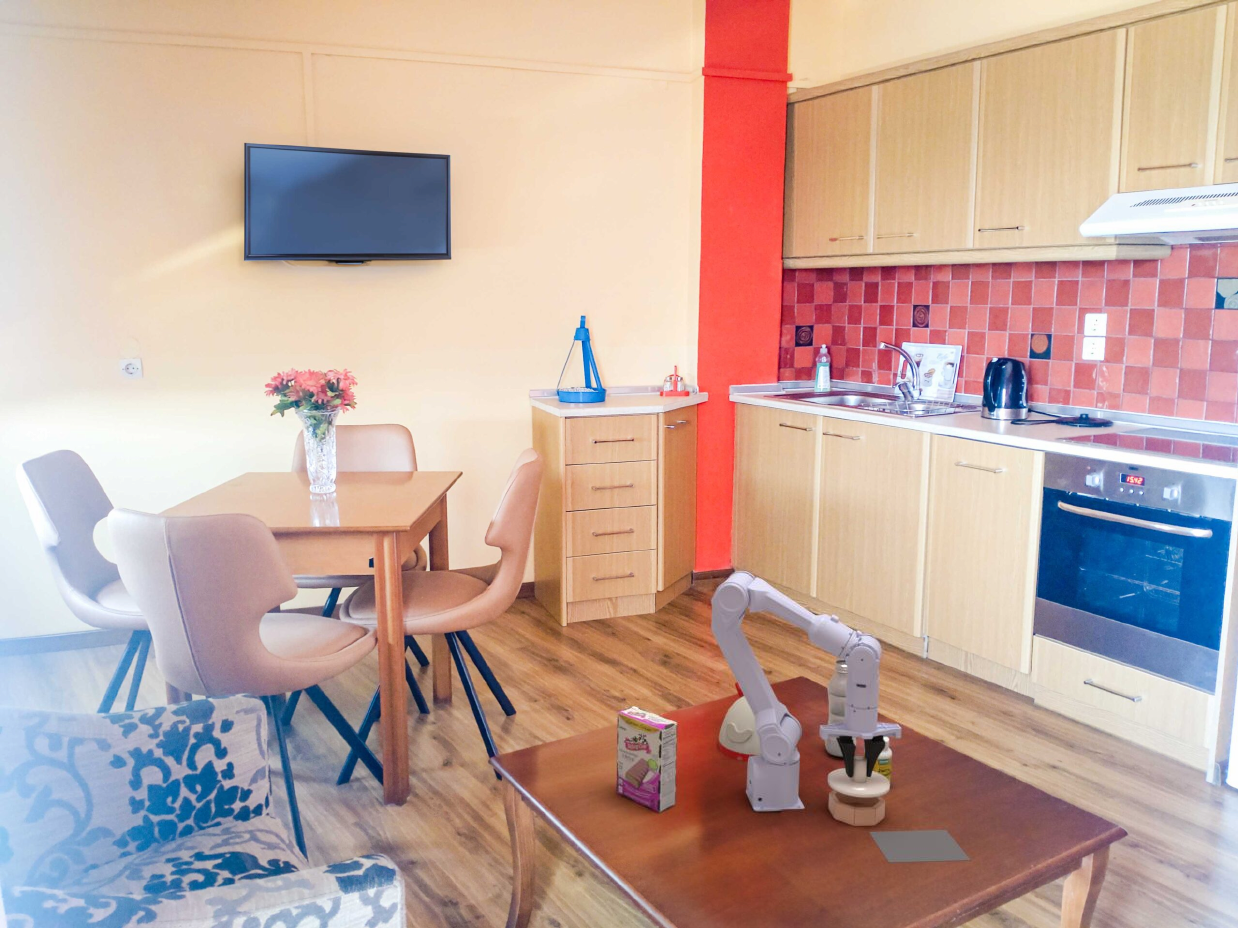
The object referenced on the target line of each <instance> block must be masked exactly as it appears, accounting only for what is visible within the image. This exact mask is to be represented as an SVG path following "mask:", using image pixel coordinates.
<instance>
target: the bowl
mask: <svg viewBox="0 0 1238 928" xmlns="http://www.w3.org/2000/svg"><path fill="white" fill-rule="evenodd" d="M828 811H829V812H830V814H831V815H832V817H833V818H834V819H835V820H837V821H840V822H843V823H845V824H848V825H850V826H854V827H858V826H859V827H860V826H862V827H863V826H864V827H865V826H876V825H877V824H878V823H880V822H882V820H883V819H885V817H886V816H885V815H886V814H885V812H886V800H885V799H884V798H883V796H878V797H868V798H866V797H854V796H849V795H846V794H842V793H840V792H838V791H836V790H834V789H832V790H831V791H830V792H829V793H828Z"/></svg>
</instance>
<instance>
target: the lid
mask: <svg viewBox="0 0 1238 928" xmlns="http://www.w3.org/2000/svg"><path fill="white" fill-rule="evenodd" d="M827 784H828V786H829V787H830V788H831V789H832V790H836V791H838V792H840V793H842V794H846V795H849V796H854V797H866V798H868V797H878V796H881V797H883V796H884V795H886V794H887V793H889V792H890V789H891V784H890V782H889V780H888V779H887V778H886V777H885V776H883V775H881V774H879V773H877V772H874V771H872V775H871V777H867V758H865V757H864V756H861V755H854V763H853V777H850V778H849V777H848V775H847V774H846V770H845V767H844V768H842V767H841V768H838V769H835V770H832V771H831V772H829V773H828V775H827Z"/></svg>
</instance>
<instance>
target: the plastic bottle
mask: <svg viewBox="0 0 1238 928" xmlns="http://www.w3.org/2000/svg"><path fill="white" fill-rule="evenodd" d="M834 672H835V673H834V674H833V675H832V676H831V678H830V679H829V680H828V683H827V689H826V690H827V698H828V719H827V720H828V721H827V725H830V724H835V723H840V722H845V703H846V683H847V676H848V667H847V665H846V662H845V660H842V659H838V660H835V662H834ZM852 739H853V743H854V744H855V746H856V747H857V737H852ZM824 746H825V750H826V752H827V753H828V754H830V755H831V756H834V757H839V758H843V755H842V752H841V749H840V747H839V744H838V742H837V739H836V738H828V739H827V740H824Z"/></svg>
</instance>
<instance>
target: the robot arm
mask: <svg viewBox="0 0 1238 928" xmlns="http://www.w3.org/2000/svg"><path fill="white" fill-rule="evenodd" d="M710 603H711V624H710V625H711V626H710V629H711V633H712V635H713V638H714V639H715V640H716V643H717V644H718V646H719V649H720V651H721V653H722V656H724V659H725V660H726V663H727V664H728V666H729V668H730V670H731V673H732V674H733V676H734V678H735V680H736V682H738V684H739V686H740V688H741V690H742V692H743V694H744V696H745V698H746V700H747V702H748V704H749V706H750V708H751V710H752V712H753V714H754V718H755V729H756V732H757V734H758V737H759V740H760V751H761V754H759V755H756V756H751V757H749V759H748V762H747V772H746V773H747V775H746V790H745V794H746V795H747V798H748V800H749V803H750V805H751V807H752V809H753V811H754V812H782V811H783V810H801V809H802V810H803V809H805V806H804V804H803V802H802V801H801V798H800V797H799V786H800V785H799V784H800V765H801V764H800V762H801V761H800V760H801V759H800V758H801V755H800V752H799V751H798V748H797V744H798V743H799V741H800V740H801V738H802V734H803V733H802V732H803V730H802V726H801V723H800V721H799V720H798V719H797V718H796V717H795V716H793V715H792V714H791V713H790V712H789V710H788V708H787V706H786V705H785V704H783V703H782V702H780V701H779V700H778V698H777V696H776V694H775V692H774V690H773V688H772V687H771V684H770V683H769V680H768V679H767V677H766V675H765V672H764V671H763V668H762V667H761V666H762V665H760V662H759V661H758V659H757V657H756V655H755V653H754V651H753V648H752V647H751V644H750V643H749V640H748V639H747V637H746V635H745V633H744V631H743V629H742V628H741V627H742V625H741V624H742V622H743V619H744V618H745V614H746V612H747V610H748V608H749V611H748V612H749V614H751V613H754V614H755V613H759V612H766V611H767V612H769V613H771V614H773V615H775V616H777V617H779V618H781V619H783V620H785V621H787V622H788V623H790V624H792V625H794V626H796V627H798V628H800V629H801V630H803V631H805V632H806V633H807V636H808V639H809V641H810V642H811V643H813V644H815V645H816V646H818V647H819V648H821V649H823V650H824V651H825V652H828V653H830V654H831V655H833V656H834V657H836V658H838V660H845V662H846V665H847V667H848V676H847V683H846V703H845V722H840V723H835V724H830V725H828V724H821V725H819V737H820V738H821V740H824V741H825V740H827V739H828V738H836V739H837V742H838V744H839V747H840V749H841V752H842V755H843V757H842V758H843V762H844V763H843V764H844V768H845V770H846V774H847V775H848V777H849V778H850V777H853V763H854V756H856V755H855V754H856V750H857V745H856V746H855V744H854V743H853V739H852V737H856V738H861V739H863V743H864V744H863V745H864V749H865V756H864V755H863V757H865V758H867V777H871V775H872V771H873V768H874V765H875V763H876V761H877V759H878V757H879V755H880V753H881V752H882V751H883V749H884V748H885V743H886V742H885V741H884V740H883V737H888V738H890V737H891V738H895V739H901V738H902V727H901V726H900V725H899V724H898V723H887V722H879V721H878V715H879V713H878V712H879V696H880V678H879V677H880V670H879V668H880V665H881V664H880V661H881V658H882V654H883V651H882V650H883V649H882V645H881V643H880V642H879V640H878V639H877V638H876V637H874V635H872V634H870V633H863V632H862V631H861V630H859V629H857V631H856V630H854V629H852V628H850V627H849V626H847V625H846V624H844V623H842V622H841V621H839V619H840V617H839V616H837V615H835V614H832V615H831V616H830V615H829V614H827V613H823V614H818V615H817V614H814V613H812V612H811V611H810V610H808V609H807V608H805V607H803V606H802V605H800V604H798V602H796V601H794V600H793V599H791V598H790V597H788V595H785V594H783V593H782V592H780V591H779V590H777V588H774V587H773V586H772V585H770V584H769V583H768V582H766V581H765V580H764V579H762V578H761V577H755V576H754V575H753V574H752V573H750V572H748V571H745V570H738V571H734V572H733V573H731V574H730V575H729V576H728V578H726V580H725V581H724V582H722V583H721V584H719V585H718V587H717V588H716V590H715V592H714V594H713V596H712V597H711V600H710Z"/></svg>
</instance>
